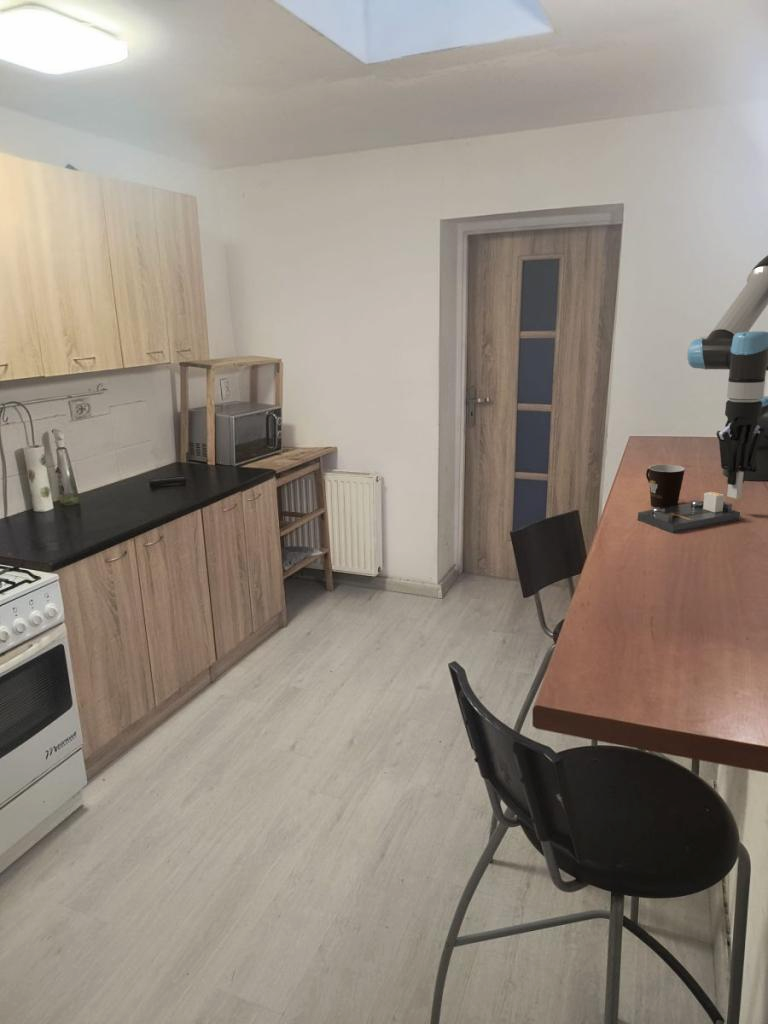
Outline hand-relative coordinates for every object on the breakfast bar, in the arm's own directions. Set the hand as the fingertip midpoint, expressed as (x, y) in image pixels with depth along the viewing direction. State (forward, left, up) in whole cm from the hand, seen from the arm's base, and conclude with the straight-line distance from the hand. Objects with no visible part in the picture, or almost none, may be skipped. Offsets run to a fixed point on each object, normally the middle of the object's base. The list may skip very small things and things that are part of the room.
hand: (733, 496), depth 162 cm
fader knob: (+6, 0, -2) cm, 7 cm away
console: (+12, -2, -5) cm, 13 cm away
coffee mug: (+7, -15, -5) cm, 18 cm away
